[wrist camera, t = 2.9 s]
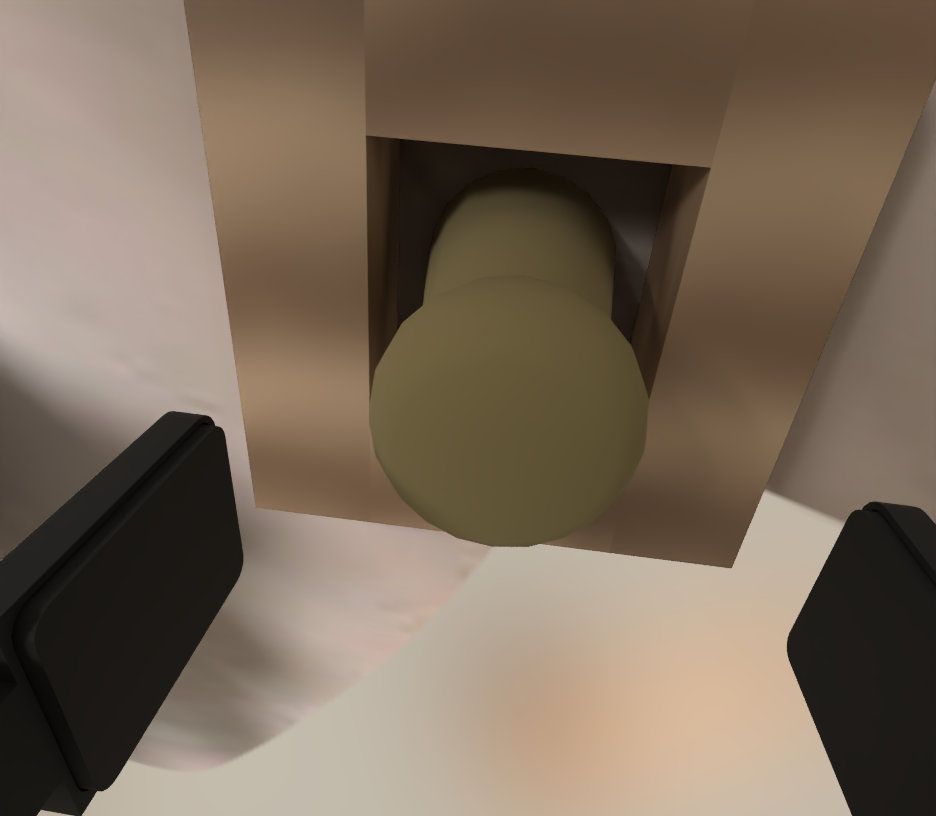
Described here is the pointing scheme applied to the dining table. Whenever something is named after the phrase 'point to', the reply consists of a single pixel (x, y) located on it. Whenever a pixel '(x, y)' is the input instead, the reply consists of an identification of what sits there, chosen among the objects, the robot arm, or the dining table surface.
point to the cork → (512, 370)
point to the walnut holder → (565, 132)
